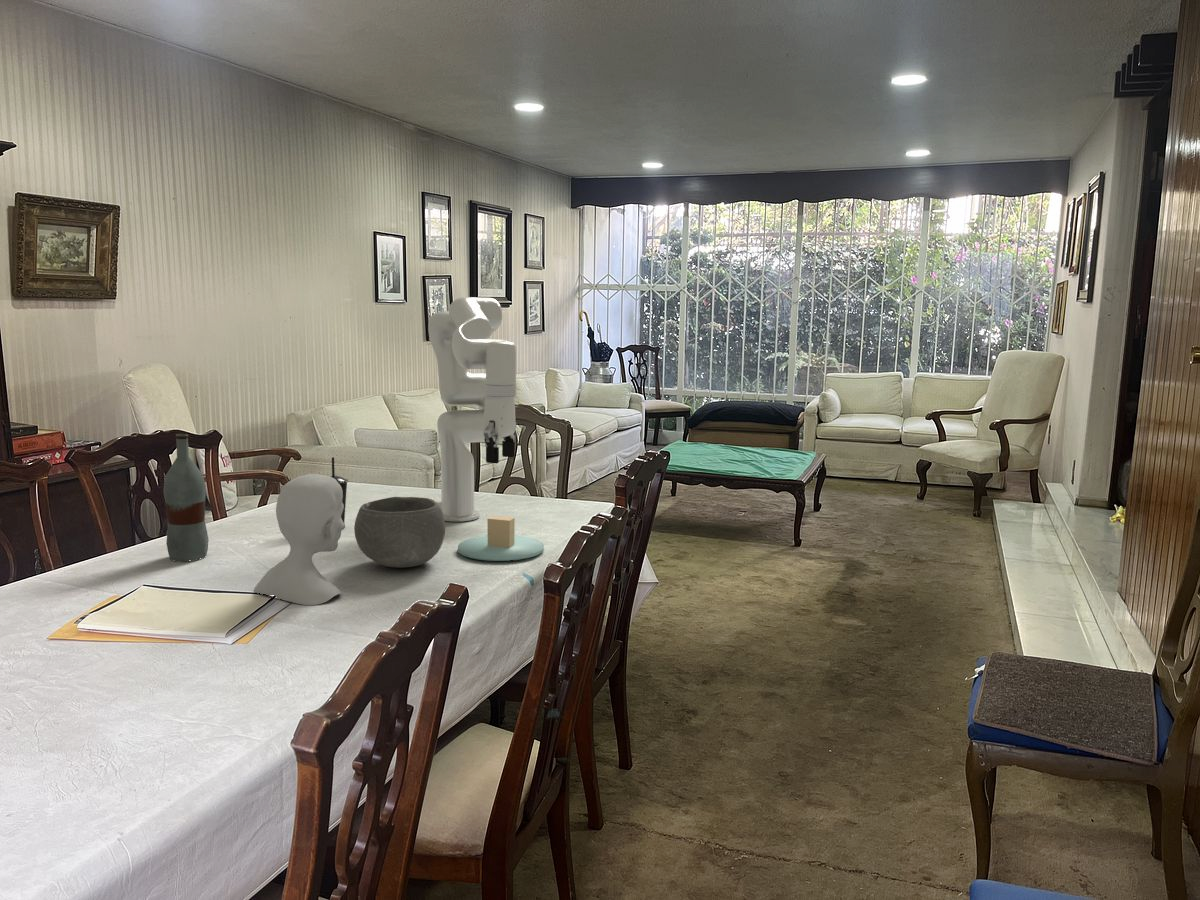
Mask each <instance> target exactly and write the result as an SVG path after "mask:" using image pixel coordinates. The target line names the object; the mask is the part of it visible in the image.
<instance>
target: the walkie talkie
mask: <svg viewBox="0 0 1200 900" xmlns="http://www.w3.org/2000/svg"><path fill="white" fill-rule="evenodd" d="M335 470H336V469H335V457H334V456H333V457H331V475H329V476H330V477H332V478H334V479H335V480H336V481H337V482H338V483H339V484H340V486H341V488H342V491H343V499H342V503H343V504H344V509H343V512H342V515H341V518H342V520H343V523H344V524H345V519H346V518H345V517H346V503H347V489H348V482H349V480H348V478H345V477H342V476H339V475H336V474H335V473H336V472H335Z"/></svg>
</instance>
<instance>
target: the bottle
mask: <svg viewBox="0 0 1200 900" xmlns="http://www.w3.org/2000/svg"><path fill="white" fill-rule="evenodd" d="M188 436H189V434H187V433H177V434H175V438H176V439H175V440H176V458H175V460H174V461H173V463H172V464H171V466H170V468H169V469H168V471H167V472H166V474H165V476H164V480H163V490H162V491H163V497H164V503H165V509H166V517H167V532H166V549H167V552H168V553H167V554H168V557H169V559H170V561H172V560H175V561H174V562H177V561H189V560H196V559H200V558H203V557H205V556H206V557H207V554H208V550H209V535H208V530H207V526H206V519H205V518H206V497H207V496H206V494H207V488H206V482H205V477H204V474H203V473H202V471H201V470H200V469H199V467H198V466H197V464H196V463H194V461H193V460H192V458H191V457H190V452H189V438H188ZM206 557H205V558H206ZM203 559H204V558H203ZM200 560H201V559H200ZM196 561H197V560H196ZM189 562H190V561H189Z"/></svg>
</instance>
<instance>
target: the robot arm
mask: <svg viewBox="0 0 1200 900" xmlns="http://www.w3.org/2000/svg"><path fill="white" fill-rule="evenodd" d="M502 321H503V308H502V306H501V304H500V303H499V301H497V299H496V298H492V297H480V296H479V297H478V296H477V297H476V296H475V297H474V296H473V297H472V296H470V297H469V296H467V297H466V296H464V297H458V298H455V299H454V300H453V301H451V304H450V305H449V307H448V310H445V311H438V312H435V313H433V314H432V315H430V317H429V320H428V326H427V327H428V328H427V329H428V337H429V340H430V344H431V347H432V349H433V351H434V354H435V358H436V362H437V375H438V387H439V397H440V400H441V402H442V403H443V405H446V406H449V407H450V406H451V407H452V406H453V407H458V406H459V407H463V406H465V407H467V406H469V407H471V406H476V407H477V408H478V409H456V410H448V411H444V412H443V413H441V414H440V415H439V416H438V418H437V421H436V422H437V423H436V425H437V426H436V427H437V435H438V438H439V439H438V440H439V445H440V447H439V448H440V449H439V450H440V486H441V488H440V490H441V495H440V497H441V499H440V500H441V501H435V502H436V503H437V504H438V505H439V506H440V508H441V510H442V512H443V515H444V520H445V522H451V523H453V522H454V523H455V522H456V523H458V522H462V523H463V522H469V521H470V522H471V521H474V520H477V519H479V518H480V512H479V511H477V510H475V459H474V456H473V454H472V452H471V451H470V449H469V448H467V446H466V444H471V443H484V442H485V443H484V444H485V445H484V447H485V463H488V464H496V465H497V464H499V462H500V454H499V453H500V447H499V446H498V445H499V442H500V440H501V439H503V440H502V442H501V447H502V448H501V450H502V451H501V452H502V453H501V455H502V457H505V458H514V457H515V448H516V447H515V441H516V433H517V431H516V429H517V422H516V419H517V418H516V404H515V402H516V401H515V399H516V398H517V346H516V344H515V343H514V342H513V341H508V340H506V339H501V338H500V339H499V338H498V339H493V338H492V339H491V336H492V335H493V334H494V333H495V332H496V331H497V330H498V329H499V327H500V325H501V324H502ZM468 370H485V373H483V372H482V373H481V372H469V371H468Z"/></svg>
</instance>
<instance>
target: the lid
mask: <svg viewBox="0 0 1200 900" xmlns="http://www.w3.org/2000/svg"><path fill="white" fill-rule="evenodd" d="M515 519H516V518H515V517H508V516H497V515H492V516H489V517H488V518H487V535H480V536H479V535H478V536H475V537H469V538H467V539H464V540H462V541H460V542H459V543H458V544H457V551H458V553H459V554H460V555H461V556H463V557H466V558H469V559H473V560H480V561H489V562H493V561H494V562H502V561H503V562H505V561H507V562H508V561H510V560H517V561H518V560H525V559H529V558H530V559H531V558H533V557H536V556H539V555H540V554H542V553H543V552H544V551H545V548H544V546H545V544H544V543H543V542H542V541H541V540H540V539H537V538H534V537H531V536H526V535H525V536H524V535H519V534H518V535H516V534H515V532H516V531H515V530H516V529H515V523H516V522H515V521H516V520H515ZM510 562H511V561H510Z"/></svg>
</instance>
